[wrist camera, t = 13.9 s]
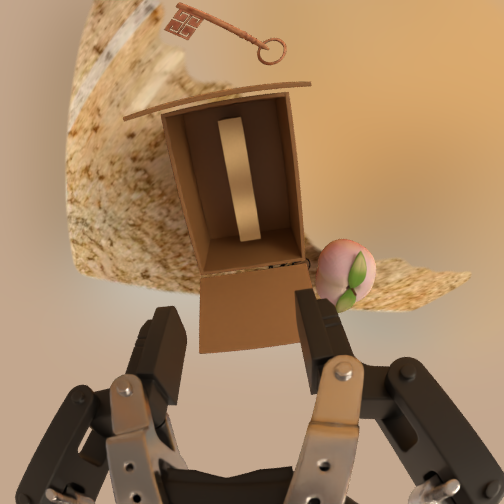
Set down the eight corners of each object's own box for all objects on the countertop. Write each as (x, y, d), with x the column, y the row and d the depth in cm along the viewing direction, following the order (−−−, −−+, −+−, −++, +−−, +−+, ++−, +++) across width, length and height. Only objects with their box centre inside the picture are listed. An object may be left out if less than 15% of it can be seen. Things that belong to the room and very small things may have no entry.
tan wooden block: (221, 119, 30) (217, 120, 25) (241, 115, 29) (241, 116, 25) (240, 224, 36) (240, 241, 32) (258, 221, 36) (261, 238, 32)
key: (161, 29, 23) (264, 82, 28) (159, 27, 23) (264, 82, 27) (188, -6, 21) (292, 47, 25) (186, -8, 20) (293, 46, 24)
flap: (306, 262, 30) (306, 264, 30) (200, 278, 30) (201, 279, 30) (323, 337, 24) (323, 338, 24) (199, 353, 24) (200, 354, 25)
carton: (293, 228, 37) (324, 313, 23) (208, 240, 38) (189, 331, 23) (276, 88, 28) (310, 70, 13) (178, 105, 29) (119, 106, 14)
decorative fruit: (354, 278, 42) (377, 320, 34) (306, 280, 42) (320, 326, 33) (365, 224, 37) (396, 261, 29) (312, 224, 37) (333, 263, 29)
